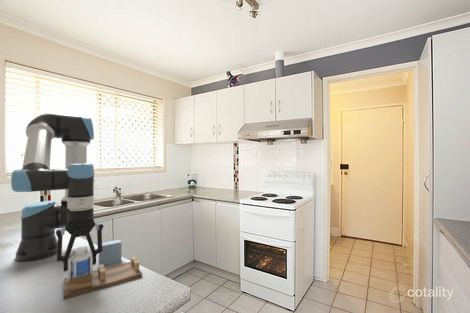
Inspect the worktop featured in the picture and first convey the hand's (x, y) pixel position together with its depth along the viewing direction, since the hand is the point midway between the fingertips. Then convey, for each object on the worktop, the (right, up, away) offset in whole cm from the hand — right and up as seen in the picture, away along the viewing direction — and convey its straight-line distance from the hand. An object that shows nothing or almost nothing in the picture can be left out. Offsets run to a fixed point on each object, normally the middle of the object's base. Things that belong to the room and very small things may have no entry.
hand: (80, 276), depth 78 cm
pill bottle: (0, -1, 0) cm, 1 cm away
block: (0, -3, +18) cm, 18 cm away
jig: (+6, -3, +4) cm, 8 cm away
